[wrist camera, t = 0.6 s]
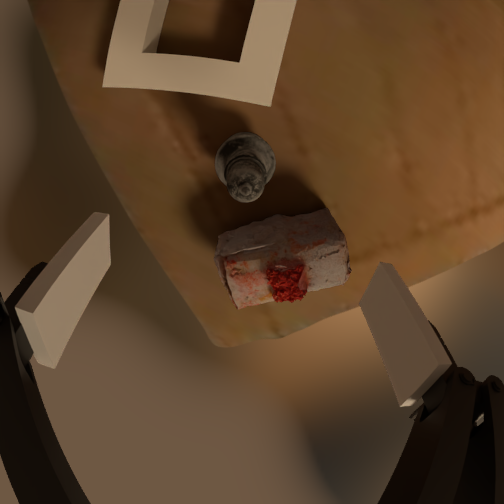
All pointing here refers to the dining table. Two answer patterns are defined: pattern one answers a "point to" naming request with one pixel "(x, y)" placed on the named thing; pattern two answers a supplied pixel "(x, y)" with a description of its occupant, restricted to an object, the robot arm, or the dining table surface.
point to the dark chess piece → (245, 165)
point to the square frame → (197, 68)
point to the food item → (282, 258)
